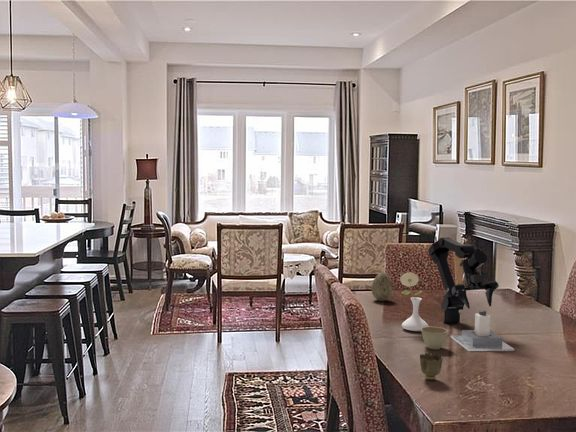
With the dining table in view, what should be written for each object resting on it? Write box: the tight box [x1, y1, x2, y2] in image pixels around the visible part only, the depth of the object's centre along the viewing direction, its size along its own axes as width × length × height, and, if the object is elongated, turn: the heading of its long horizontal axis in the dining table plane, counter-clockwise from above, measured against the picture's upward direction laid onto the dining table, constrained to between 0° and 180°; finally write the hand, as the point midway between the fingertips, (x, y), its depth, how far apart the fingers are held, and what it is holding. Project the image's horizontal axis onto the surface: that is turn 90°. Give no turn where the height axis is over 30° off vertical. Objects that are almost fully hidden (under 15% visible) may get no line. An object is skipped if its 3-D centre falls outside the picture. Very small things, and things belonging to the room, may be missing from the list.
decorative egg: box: [371, 271, 393, 302], centre depth 329 cm, size 11×11×15 cm
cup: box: [419, 352, 444, 382], centre depth 209 cm, size 8×7×8 cm
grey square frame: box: [450, 329, 515, 352], centre depth 253 cm, size 20×18×4 cm
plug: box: [473, 309, 491, 336], centre depth 252 cm, size 4×4×12 cm
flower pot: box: [420, 326, 449, 350], centre depth 246 cm, size 10×10×7 cm
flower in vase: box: [399, 271, 430, 332], centre depth 272 cm, size 13×11×25 cm
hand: (479, 307), depth 263 cm, fingers open, 9 cm apart
